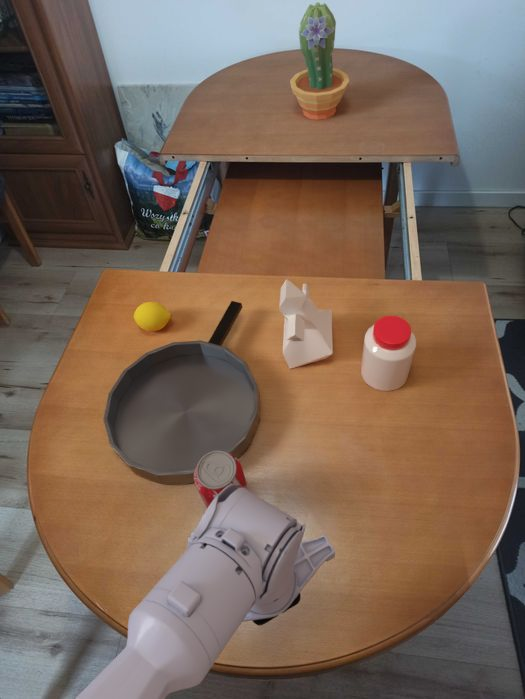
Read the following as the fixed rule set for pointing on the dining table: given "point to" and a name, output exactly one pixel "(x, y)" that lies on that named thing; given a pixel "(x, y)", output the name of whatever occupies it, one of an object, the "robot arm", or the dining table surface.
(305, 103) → the potted cactus
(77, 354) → the dining table surface
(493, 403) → the dining table surface
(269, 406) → the dining table surface
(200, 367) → the pan
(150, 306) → the lemon
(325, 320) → the white angular piece
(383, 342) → the pill bottle
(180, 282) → the dining table surface
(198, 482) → the beverage can
